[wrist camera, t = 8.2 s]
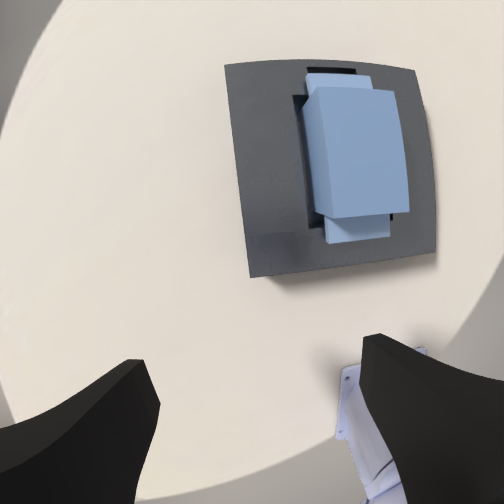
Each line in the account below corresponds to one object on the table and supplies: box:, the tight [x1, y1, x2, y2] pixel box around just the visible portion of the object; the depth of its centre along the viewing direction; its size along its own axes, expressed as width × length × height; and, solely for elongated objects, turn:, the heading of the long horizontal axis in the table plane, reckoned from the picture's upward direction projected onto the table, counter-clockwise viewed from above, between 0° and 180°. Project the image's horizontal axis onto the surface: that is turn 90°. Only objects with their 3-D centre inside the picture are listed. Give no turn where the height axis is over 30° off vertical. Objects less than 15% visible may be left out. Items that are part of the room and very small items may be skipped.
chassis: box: [224, 59, 436, 278], centre depth 15 cm, size 12×12×2 cm
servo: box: [298, 73, 409, 244], centre depth 13 cm, size 9×4×5 cm, turn 7°
